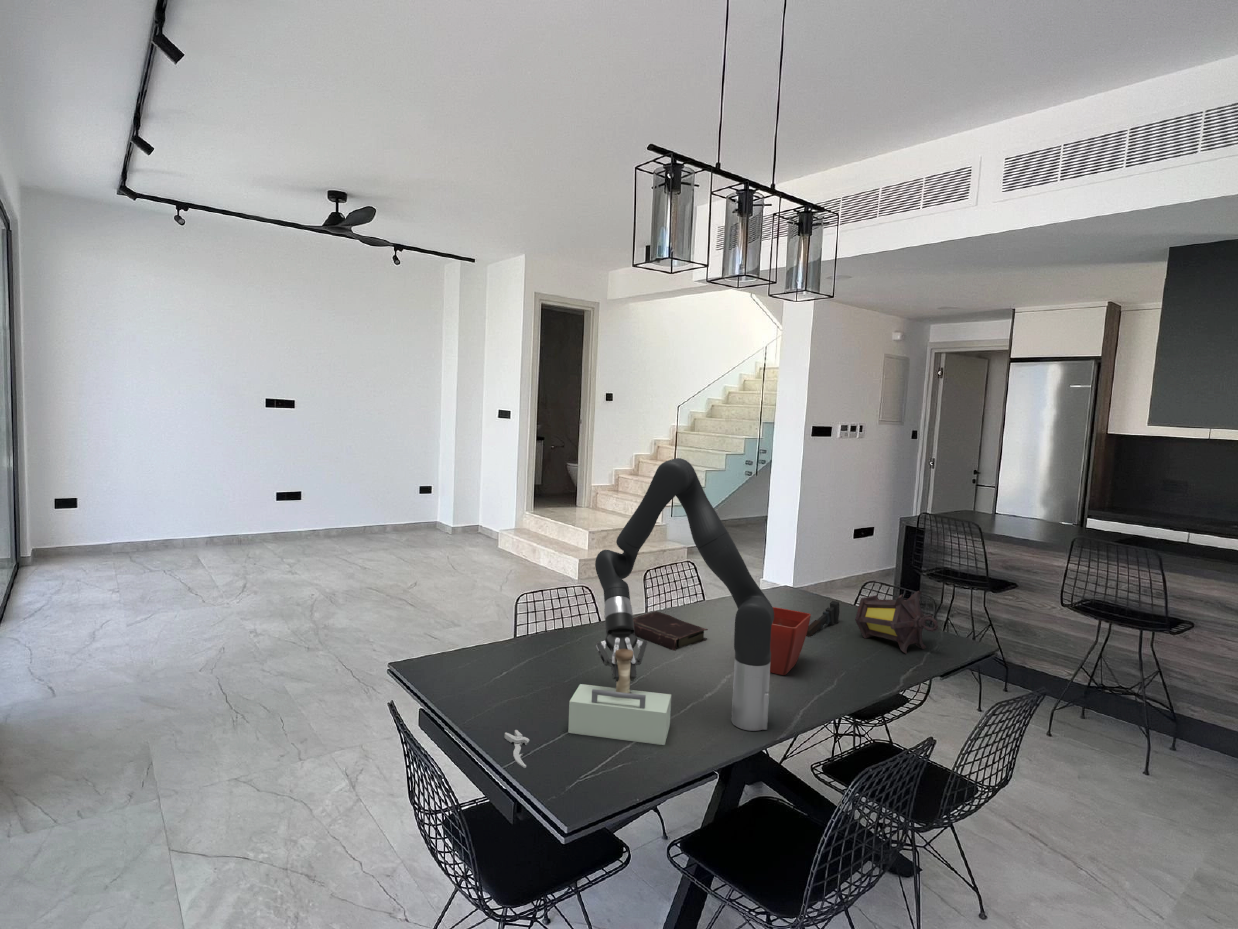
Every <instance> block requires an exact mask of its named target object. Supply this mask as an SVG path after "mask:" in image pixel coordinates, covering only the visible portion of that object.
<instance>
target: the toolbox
mask: <svg viewBox="0 0 1238 929" xmlns="http://www.w3.org/2000/svg"><path fill="white" fill-rule="evenodd" d="M618 697H620V698H618ZM626 698H629V699H626ZM568 703H569V704H568V705H569V706H568V728H567V729H568V731H567V732H568V733H569V734H574V735H575V734H576V735H582V736H591V737H598V738H605V739H606V738H607V739H614V740H621V741H629V742H637V743H646V744H653V745H658V746H659V745H660V746H665V745H666V741H667V737H668V735H669V730H670V726H671V712H672V711H671V709H672V694H671V693H660V692H653V691H652V692H651V691H645V690H644V691H643V690H634V689H630V693H622V692H616V687H609V686H601V685H600V686H599V685H594V684H593V685H591V684H583V683H582V684H581V683H580V684H579V685H578V687H577V689H576V690H575V692H574V693H573V695H572V697H571V698H570V700H569V702H568Z"/></svg>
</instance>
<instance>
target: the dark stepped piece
mask: <svg viewBox="0 0 1238 929" xmlns="http://www.w3.org/2000/svg"><path fill="white" fill-rule="evenodd" d="M839 618H840V601H835V600H832V601H830V603H829V606H827V608H825V611H823V612H822V615H821V616H820V617H818V618H817V619H815V620H814V621H812V622H811V623H809V626H808V630H807V634H806V637H808V638H810V637H811V636H812V635H813V634H815V633H816V632H817V631H821V630H822V629H823V628H824V626H825V625H829V626H835V624H836V625H838V624H839Z"/></svg>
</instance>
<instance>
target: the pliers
mask: <svg viewBox="0 0 1238 929" xmlns="http://www.w3.org/2000/svg"><path fill="white" fill-rule="evenodd" d="M513 734H514V735H513ZM513 734H511V733H509V732H504V737H503V738H504V739H505V740H506V741H507V742H510V744H511V743H513V745H514V750H513V754H512V755H513V758H514V760H515V762H516V763H517V764H518V765H519V766H520V767H522V768H524V769H526V768H527V764H525V763H524V761H523V760H522V757H523V756H524V755H525V753H521V750H522V747H521V746H522V745H525V746H527V745H528V744H529V742H530V739H529V738H528V737H526V736H523V734H522V733H521V732H520V731H519V730H518V729H515V730H514V733H513Z"/></svg>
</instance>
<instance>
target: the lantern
mask: <svg viewBox="0 0 1238 929" xmlns="http://www.w3.org/2000/svg"><path fill="white" fill-rule="evenodd" d="M922 594H923V592H922V591H921V590H917V591H915V592H914V593H912V594H911V595H910V597H908V598H907V599H904V597H903V596H904V595H903V594H900V595H899V596H897V599H880V598H879V597H878V595H871V596H866V597H862V598H860V600H859V604H858V607H857V612H856V615H855V622H856V625H857V627H858V629H859V632H860V633H861V635H862V637H863V638H864V639H869V638H873V637H878V638H880V639H885V640H888V641H889V640H890V641H893V642H897V644H898V646H899V648H900V649H899V650H900V651H902V652H903V653H904V654H906V655H908V652H907V650H908V647H909V646H910V645H913V644H915V646H917V647H918V648H920V649H922V650H925V649H926V647H927V646H926V645H925V644H924V642H923V629H925V630H926V631H928V632H933V633H934V632H936V631H937V630H938V628H939V623H938V621H937V620H936V619H935V618H934V617H933V614H924V612H923V610H922V608H921V606H920V597H921V595H922ZM927 621H929V622H930V621H931V622H933V624H934V626H933V627H928V626H927V624H926V622H927Z"/></svg>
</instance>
